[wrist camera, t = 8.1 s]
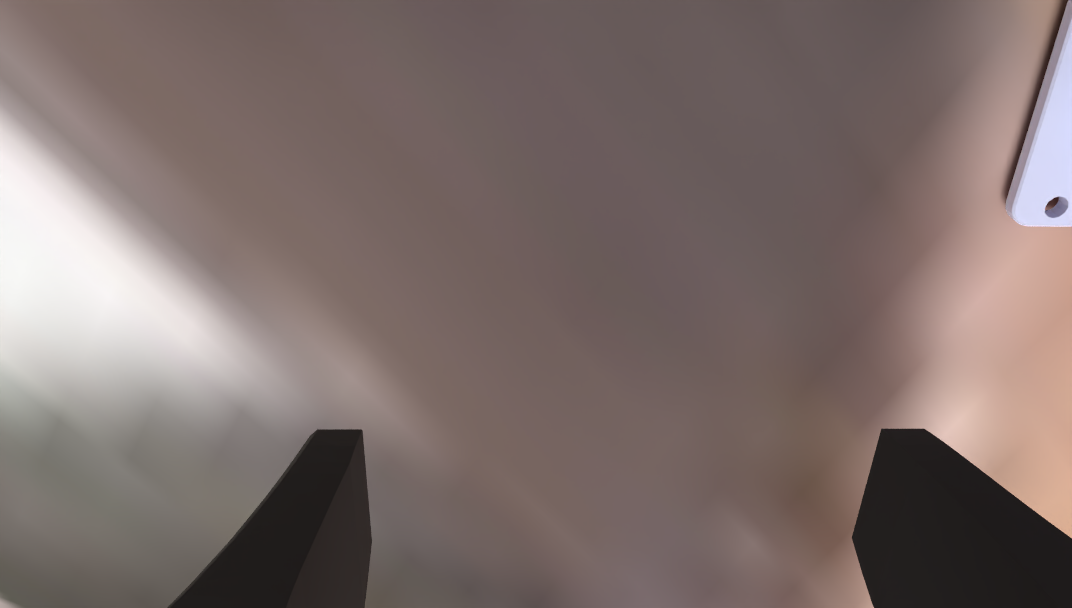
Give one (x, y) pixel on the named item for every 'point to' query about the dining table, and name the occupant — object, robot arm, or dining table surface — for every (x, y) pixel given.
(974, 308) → the dining table surface
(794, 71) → the dining table surface
